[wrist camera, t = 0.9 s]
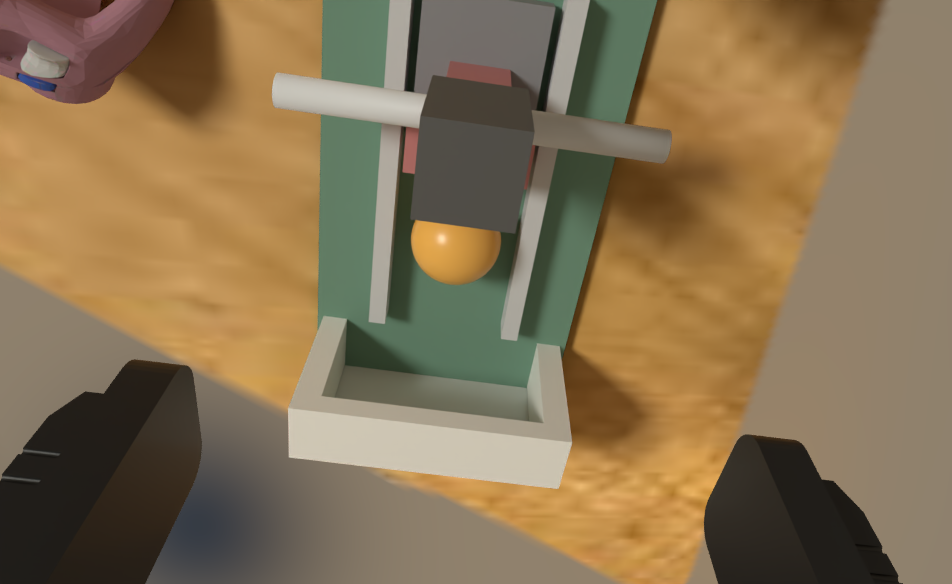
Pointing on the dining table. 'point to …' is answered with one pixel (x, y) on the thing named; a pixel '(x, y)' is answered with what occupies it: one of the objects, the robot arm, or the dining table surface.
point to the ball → (454, 251)
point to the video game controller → (74, 43)
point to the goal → (430, 418)
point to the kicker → (474, 112)
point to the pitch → (521, 254)
